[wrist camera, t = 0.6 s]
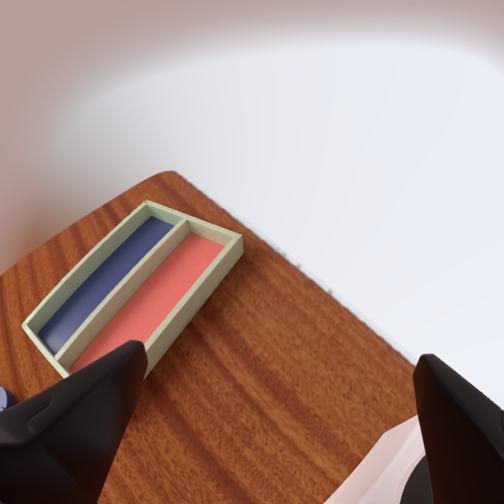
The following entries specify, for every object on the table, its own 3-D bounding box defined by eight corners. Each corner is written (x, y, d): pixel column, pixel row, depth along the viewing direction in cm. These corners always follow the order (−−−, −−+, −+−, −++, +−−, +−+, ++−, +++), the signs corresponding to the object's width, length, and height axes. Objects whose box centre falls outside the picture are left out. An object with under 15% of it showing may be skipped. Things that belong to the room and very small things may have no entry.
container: (392, 556, 11) (501, 592, 1) (315, 510, 15) (374, 544, 5) (453, 475, 14) (579, 435, 5) (384, 430, 18) (486, 363, 9)
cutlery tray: (112, 420, 20) (97, 413, 18) (34, 338, 24) (20, 325, 23) (244, 253, 31) (242, 234, 29) (152, 215, 36) (146, 199, 34)
